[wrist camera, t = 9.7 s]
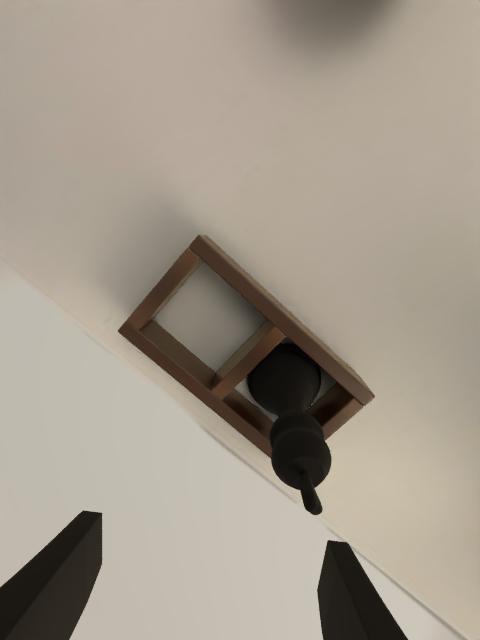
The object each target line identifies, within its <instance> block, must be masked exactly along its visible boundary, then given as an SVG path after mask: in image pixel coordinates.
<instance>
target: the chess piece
mask: <svg viewBox="0 0 480 640" xmlns="http://www.w3.org/2000/svg"><path fill="white" fill-rule="evenodd" d="M320 385H321V371H320V368H319V366H318V364H317V363H316V362H315V361H314V360H313V359H311V358H310V357H309V356H308V355H307V354H306V353H305V352H304V351H303V350H301V349H300V348H299V347H298V346H296V345H290V344H279V345H277V346H276V347H275V348H274V349H273V350H272V351H271V352H270V353H269V354H268V355H267V356H266V357H265V358H264V359H263V360H262V361H261V362H260V363H259V364H258V365H257V366H256V367H255V368H254V369H253V370H252V371H251V372H250V373H249V374H248V387H249V390H250V393H251V395H252V396H253V398H254V399H255V400H256V402H257V403H258V404H260V405H261V406H262V407H263V408H265V409H266V410H267V411H269V412H271V413H274V414H276V415H277V416H278V418H277V419H276V421H275V422H274V423H273V425H272V427H271V430H270V435H269V440H270V445H271V448H272V453H271V462H272V466H273V469H274V471H275V473H276V475H277V476H278V477H279V478H280V480H281V481H283V482H284V483H285V484H287V485H288V486H290V487H293V488H295V489H298V490H300V491H301V495H302V499H303V503H304V507H305V509H306V510H307V511H308V512H310V513H311V514H313V515H318V514H320V513H321V512H322V510H323V509H322V505H321V503H320V500H319V498H318V496H317V494H316V491H315V489H314V488H315V487H317V486H318V485H319V484H320V483H321V482H322V481H323V480H324V479H325V478H326V476H327V475H328V473H329V470H330V467H331V454H330V450H329V447H328V446H327V444H326V442H325V441H324V433H323V429H322V427H321V425H320V424H319V422H318V421H317V420H316V419H315V418H314V417H312V416H311V415H309V414H307V413H306V412H305V410H306V409H307V408H308V407H309V406H310V405H311V404H312V402H313V401H314V399H315V398H316V396H317V394H318V392H319V389H320Z"/></svg>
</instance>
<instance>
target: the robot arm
mask: <svg viewBox="0 0 480 640" xmlns="http://www.w3.org/2000/svg"><path fill="white" fill-rule="evenodd" d="M101 565H102V513H98V512H90V511H82V512H81V513H80V514H79V515H77V517H75V518H74V520H72V521H71V522H70V523H69V524H68V525H67V527H65V528H64V529H63V530H62V531H61V532H60V533H59V534H58V535H57V536H56V537H55V538H54V539H53V540H52V541H51V542H50V543H49V544H48V545H46V546H45V547H44V548H43V549H42V550H41V551H40V552H39V553H38V554H37V555H36V556H35V557H34V558H33V559H32V560H30V561H29V562H28V563H27V564H26V565H25V566H24V567H23V568H22V569H21V570H19V571H18V572H17V573H16V574H15V575H14V576H13V577H12V578H11V579H9V580H8V581H7V582H6V583H5V584H4V585H3V586H1V587H0V640H69V639H70V637H71V635H72V633H73V631H74V629H75V627H76V624H77V623H78V620H79V618H80V616H81V614H82V612H83V610H84V608H85V606H86V604H87V602H88V599H89V596H90V594H91V591H92V589H93V586H94V584H95V581H96V578H97V576H98V573H99V570H100V568H101ZM317 592H318V601H319V611H320V619H321V627H322V634H323V639H324V640H408V639H407V637H406V636H405V634H404V633H403V631H402V630H401V628H400V627H399V625H398V624H397V622H396V621H395V620H394V618H393V616H392V614H391V613H390V611H389V610H388V608H387V607H386V605H385V604H384V602H383V601H382V599H381V597H380V596H379V594H378V593H377V591H376V589H375V588H374V586H373V584H372V583H371V581H370V580H369V578H368V576H367V574H366V573H365V571H364V569H363V568H362V566H361V564H360V563H359V561H358V559H357V558H356V556H355V554H354V552H353V551H352V549H351V547H350V546H349V544H348V543H346V542H338V541H330V540H329V541H328V542H327V546H326V551H325V556H324V561H323V565H322V570H321V575H320V580H319V585H318V589H317Z"/></svg>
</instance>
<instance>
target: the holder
mask: <svg viewBox="0 0 480 640" xmlns="http://www.w3.org/2000/svg"><path fill="white" fill-rule="evenodd" d="M203 261H204V262H205V263H207V264H208V265H209V266H210V267H211V268H212V269H213V270H214V271H215V272H216V273H218V274H219V275H220V276H221V277H222V278H223V279H224V280H225V281H226V282H228V283H229V284H230V285H231V286H232V287H233V288H234V289H235V290H236V291H237V292H239V293H240V294H241V295H242V296H243V297H244V298H245V299H246V300H247V301H248V302H250V303H251V304H252V305H253V306H254V307H255V308H256V309H257V310H258V311H260V312H261V313H262V314H263V315H264V316H265V317H266V318H267V319H268V320H267V321H266V322H265V323H264V324H263V325H262V326H261V327H260V328H259V329H258V330H257V331H256V332H255V333H254V334H253V335H252V336H251V338H250V339H249V340H248V341H247V342H246V343H245V344H244V345H243V346H242V347H241V348H240V349H239V350H238V351H237V352H236V353H235V354H234V355H233V356H232V357H231V358H230V359H229V360H228V361H227V362H226V363H225V364H224V365H223V366H222V367H221V368H220V370H219V371H218V372H217V373H215V372H214V371H213V370H211V369H210V368H209V367H208V366H207V365H205V364H204V363H203V362H202V361H201V360H200V359H198V358H197V357H196V356H195V355H194V354H193V353H191V352H190V351H189V350H188V349H187V348H186V347H184V346H183V345H182V344H181V343H180V342H178V341H177V340H176V339H175V338H174V337H173V336H171V335H170V334H169V333H168V332H167V331H166V330H164V329H163V328H162V327H161V326H160V325H158V324H157V323H156V322H155V321H154V320H153V318H154V317H155V316H156V315H157V314H158V312H159V311H160V310H161V309H162V308H163V307H164V305H165V304H166V303H167V302H168V301H169V300H170V298H171V297H172V296H173V295H174V294H175V293H176V292H177V290H178V289H179V288H180V287H181V286H182V285H183V283H184V282H185V281H186V280H187V279H188V278H189V277H190V275H191V274H192V273H193V272H194V271H195V270H196V268H197V267H198V266H199V265H200V264H201V263H202V262H203ZM118 332H119V333H120V334H121V335H122V336H124V337H125V338H126V339H127V340H129V341H130V342H131V343H132V344H133V345H135V346H136V347H137V348H138V349H139V350H141V351H142V352H143V353H144V354H145V355H147V356H148V357H149V358H150V359H151V360H153V361H154V362H155V363H156V364H157V365H159V366H160V367H161V368H162V369H163V370H165V371H166V372H167V373H168V374H170V375H171V376H172V377H173V378H174V379H176V380H177V381H178V382H179V383H180V384H182V385H183V386H184V387H185V388H186V389H188V390H189V391H190V392H191V393H192V394H194V395H195V396H196V397H197V398H198V399H200V400H201V401H202V402H203V403H204V404H206V405H207V406H208V407H209V408H211V409H212V410H213V411H214V412H215V413H217V414H218V415H219V416H220V417H221V418H223V419H224V420H225V421H226V422H227V423H229V424H230V425H231V426H232V427H233V428H235V429H236V430H237V431H238V432H239V433H241V434H242V435H243V436H244V437H246V438H247V439H248V440H249V441H250V442H252V443H253V444H254V445H255V446H256V447H258V448H259V449H260V450H261V451H262V452H264V453H265V454H266V455H267V456H268V457H270V458H271V453H272V448H271V445H270V440H269V435H270V430H271V427H272V425H273V423H274V422H273V421H271V420H270V419H269V418H268V417H267V416H265V415H264V414H263V413H262V412H261V411H260V410H258V409H257V408H256V407H255V406H254V405H253V404H251V403H250V402H249V401H248V400H247V399H245V398H244V397H243V396H242V395H241V394H240V393H238V392H237V391H236V390H235V389H234V388H235V387H236V386H237V385H238V384H239V383H240V382H241V381H242V380H243V379H244V378H245V377H246V376H247V375H248V374H249V373H250V372H251V371H252V370H253V369H254V368H255V367H256V366H257V365H258V364H259V363H260V362H261V361H262V360H263V359H264V358H265V357H266V356H267V355H268V354H269V353H270V352H271V351H272V350H273V349H274V348H275V347H276V346H277V345H278V344H279V343H280V342H281V341H282V340H283V339H284V338H285V337H286V336H287V337H288V338H289V339H290V340H292V341H293V342H294V343H295V344H296V345H297V346H298V347H299V348H300V349H301V350H303V351H304V352H305V353H306V354H307V355H308V356H309V357H310V358H311V359H313V360H314V361H315V362H316V363H317V364H318V365H319V366H320V367H321V368H322V369H324V370H325V371H326V372H327V373H328V374H329V375H330V376H331V377H332V378H334V379H335V380H336V381H337V382H338V383H337V384H336V385H335V386H334V387H333V388H332V389H330V390H329V391H328V392H327V393H326V394H325V395H324V396H323V397H322V398H321V399H320V400H318V401H317V402H316V403H315V404H314V405H313V406H312V407H311V408H310V409H309V410H308V411H306V413H307V414H309V415H311V416H312V417H314V418H315V419H316V420H317V421H318V422H319V424H320V425H321V427H322V429H323V433H324V441H325V440H326V439H327V438H329V437H330V436H331V435H332V434H333V433H334V432H335V431H337V430H338V429H339V428H340V427H341V426H342V425H343V424H345V423H346V422H347V421H348V420H349V419H350V418H351V417H353V416H354V415H355V414H356V413H357V412H358V411H359V410H361V409H362V408H363V405H364V406H365V405H366V404H368V403H369V402H370V401H371V400H372V399H373V398H374V397H375V396H374V394H373V393H372V392H371V390H370V389H369V388H368V386H367V385H366V384H365V382H364V381H363V380H362V378H361V377H360V376H359V375H358V374H356V373H355V372H354V371H353V370H352V369H351V368H350V367H349V366H348V365H347V364H346V363H345V362H343V361H342V360H341V359H340V358H339V357H338V356H337V355H336V354H335V353H334V352H333V351H332V350H330V349H329V348H328V347H327V346H326V345H325V344H324V343H323V342H322V341H321V340H320V339H318V338H317V337H316V336H315V335H314V334H313V333H312V332H311V331H310V330H309V329H308V328H307V327H305V326H304V325H303V324H302V323H301V322H300V321H299V320H298V319H297V318H296V317H295V316H293V315H292V314H291V313H290V312H289V311H288V310H287V309H286V308H285V307H284V306H283V305H282V304H280V303H279V302H278V301H277V300H276V299H275V298H274V297H273V296H272V295H271V294H270V293H269V292H267V291H266V290H265V289H264V288H263V287H262V286H261V285H260V284H259V283H258V282H257V281H255V280H254V279H253V278H252V277H251V276H250V275H249V274H248V273H247V272H246V271H245V270H244V269H242V268H241V267H240V266H239V265H238V264H237V263H236V262H235V261H234V260H233V259H232V258H230V257H229V256H228V255H227V254H226V253H225V252H224V251H223V250H222V249H221V248H220V247H219V246H217V245H216V244H215V243H214V242H213V241H212V240H211V239H210V238H209V237H208V236H206V235H198V236H197V237H196V239H195V240H194V241H193V242H192V243H191V245H190V246H189V248H187V249H186V250H185V252H184V253H183V254H182V255H181V256H180V257H179V259H178V260H177V261H176V262H175V263H174V265H173V266H172V267H171V268H170V269H169V271H168V272H167V273H166V274H165V275H164V276H163V278H162V279H161V280H160V281H159V282H158V284H157V285H156V286H155V287H154V288H153V289H152V291H151V292H150V293H149V294H148V295H147V297H146V298H145V299H144V300H143V301H142V303H141V304H140V305H139V306H138V307H137V308H136V310H135V311H134V312H133V313H132V314H131V316H130V317H129V318H128V319H127V321H126V322H125V323H124V324H123V325H122V326H121V327H120V329H119V330H118Z"/></svg>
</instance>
